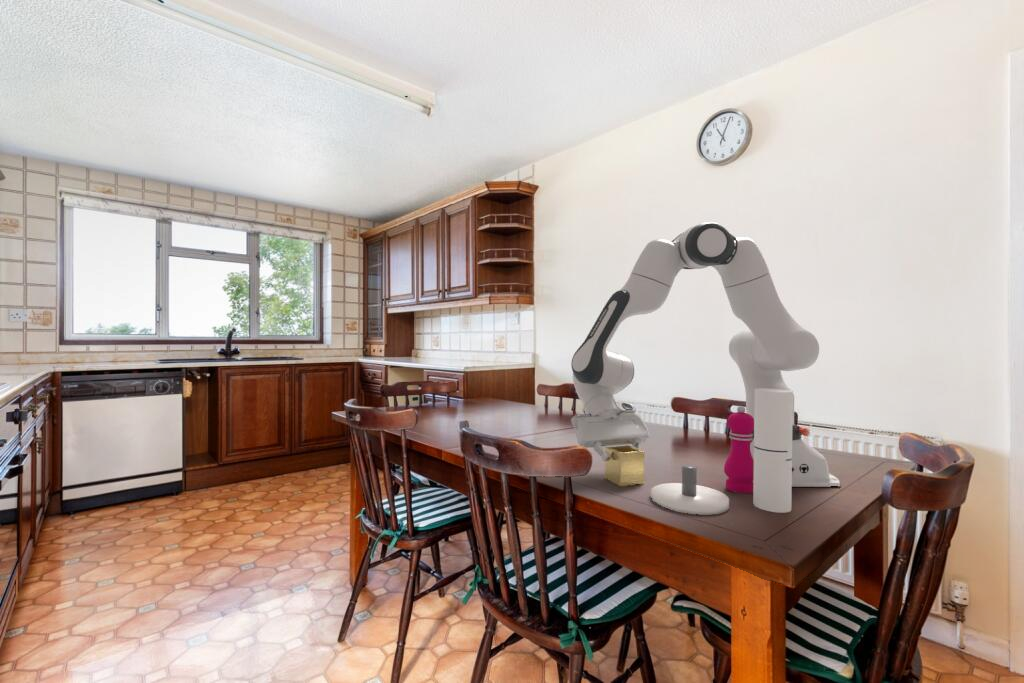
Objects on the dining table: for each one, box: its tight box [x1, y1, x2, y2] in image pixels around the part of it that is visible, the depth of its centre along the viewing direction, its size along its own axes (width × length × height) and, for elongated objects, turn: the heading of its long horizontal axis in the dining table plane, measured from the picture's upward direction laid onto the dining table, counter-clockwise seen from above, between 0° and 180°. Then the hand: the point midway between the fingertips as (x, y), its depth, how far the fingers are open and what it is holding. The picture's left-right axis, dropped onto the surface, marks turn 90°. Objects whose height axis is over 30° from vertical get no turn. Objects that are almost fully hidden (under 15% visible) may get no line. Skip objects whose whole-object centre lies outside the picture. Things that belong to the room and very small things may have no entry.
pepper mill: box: [723, 405, 754, 494], centre depth 110 cm, size 7×7×20 cm
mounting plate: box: [650, 464, 730, 516], centre depth 102 cm, size 16×16×8 cm
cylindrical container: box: [752, 388, 794, 514], centre depth 99 cm, size 7×7×25 cm
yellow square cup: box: [604, 444, 645, 487], centre depth 116 cm, size 7×7×8 cm
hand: (623, 458), depth 116 cm, fingers open, 8 cm apart
